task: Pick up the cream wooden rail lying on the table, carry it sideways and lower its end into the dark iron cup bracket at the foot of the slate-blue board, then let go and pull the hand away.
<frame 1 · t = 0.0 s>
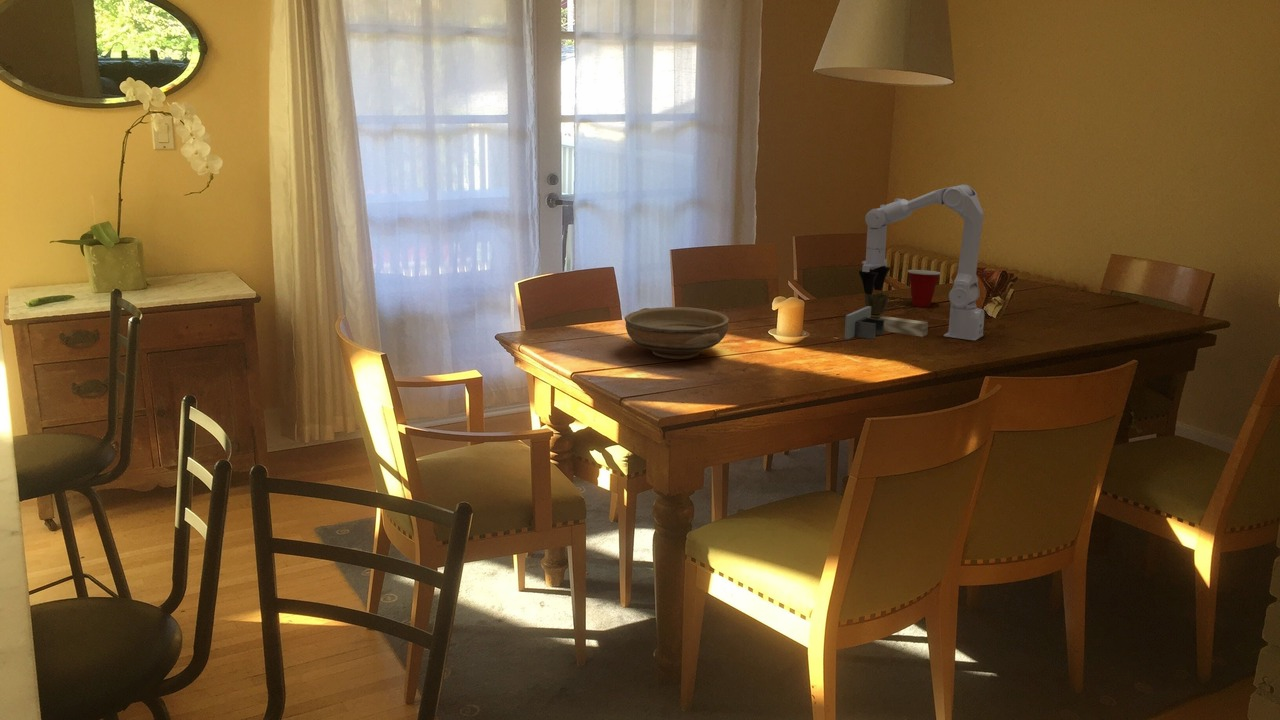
hand: (873, 291, 312), 10 cm above the table, tool pointing down, fingers open, 7 cm apart
ceramic bowl: (676, 353, 280), on the table
cup bracket: (870, 335, 299), on the table
rail: (902, 333, 304), on the table
backboard: (857, 333, 302), on the table
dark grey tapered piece: (875, 319, 322), on the table
plastic cup: (921, 306, 342), on the table
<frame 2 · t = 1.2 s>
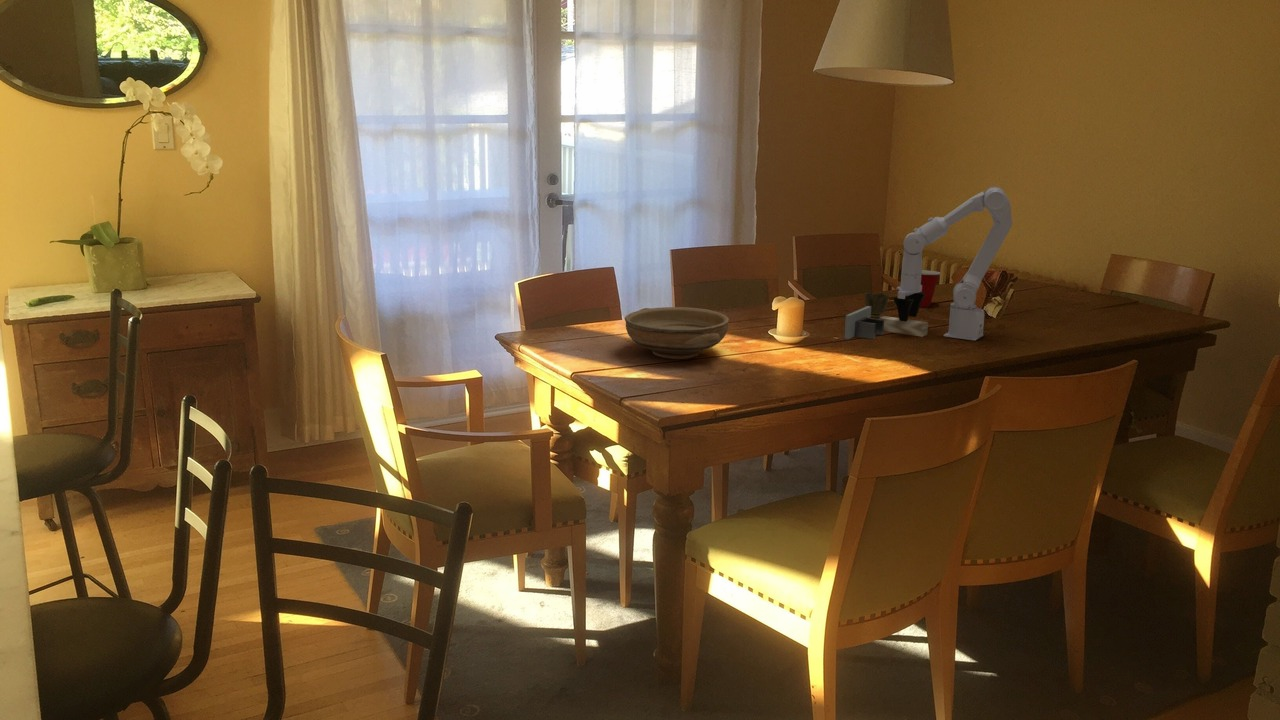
hand: (907, 318, 302), 4 cm above the table, tool pointing down, fingers open, 7 cm apart
nothing on the table moved.
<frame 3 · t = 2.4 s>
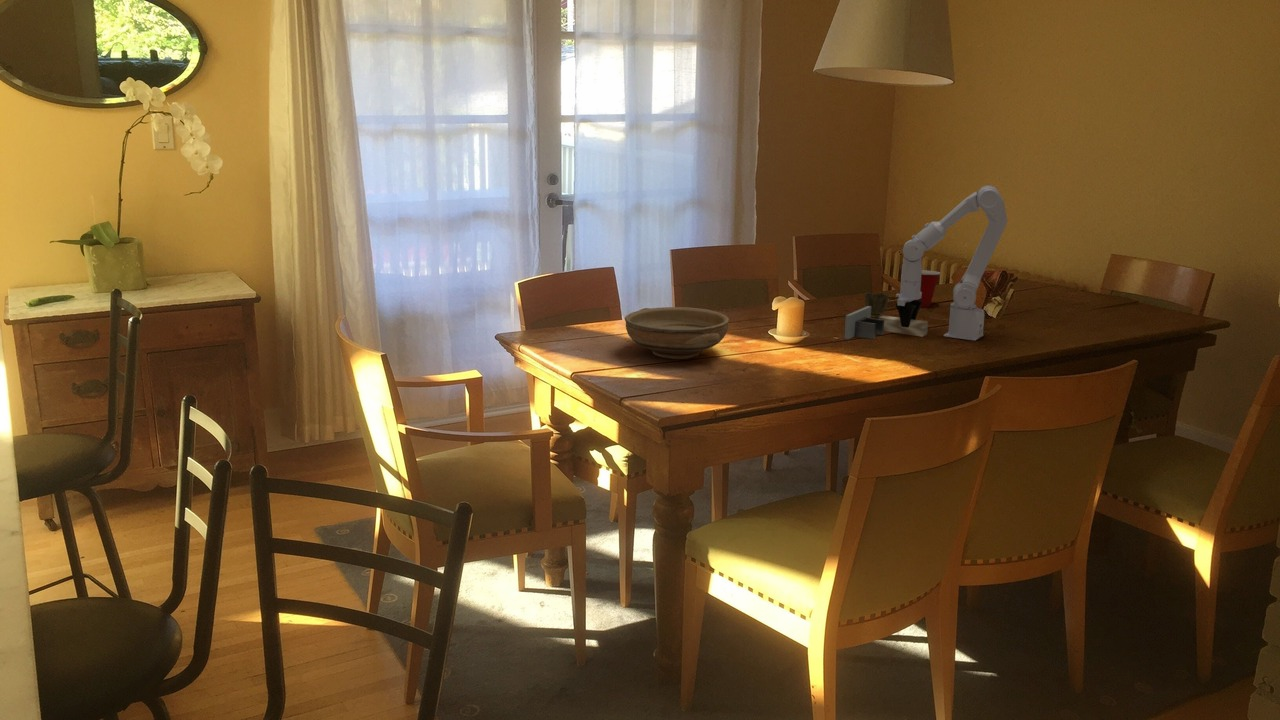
hand: (907, 325, 303), 2 cm above the table, tool pointing down, fingers closed on rail, 4 cm apart
rail: (902, 332, 304), on the table, touching gripper
everything else where it was.
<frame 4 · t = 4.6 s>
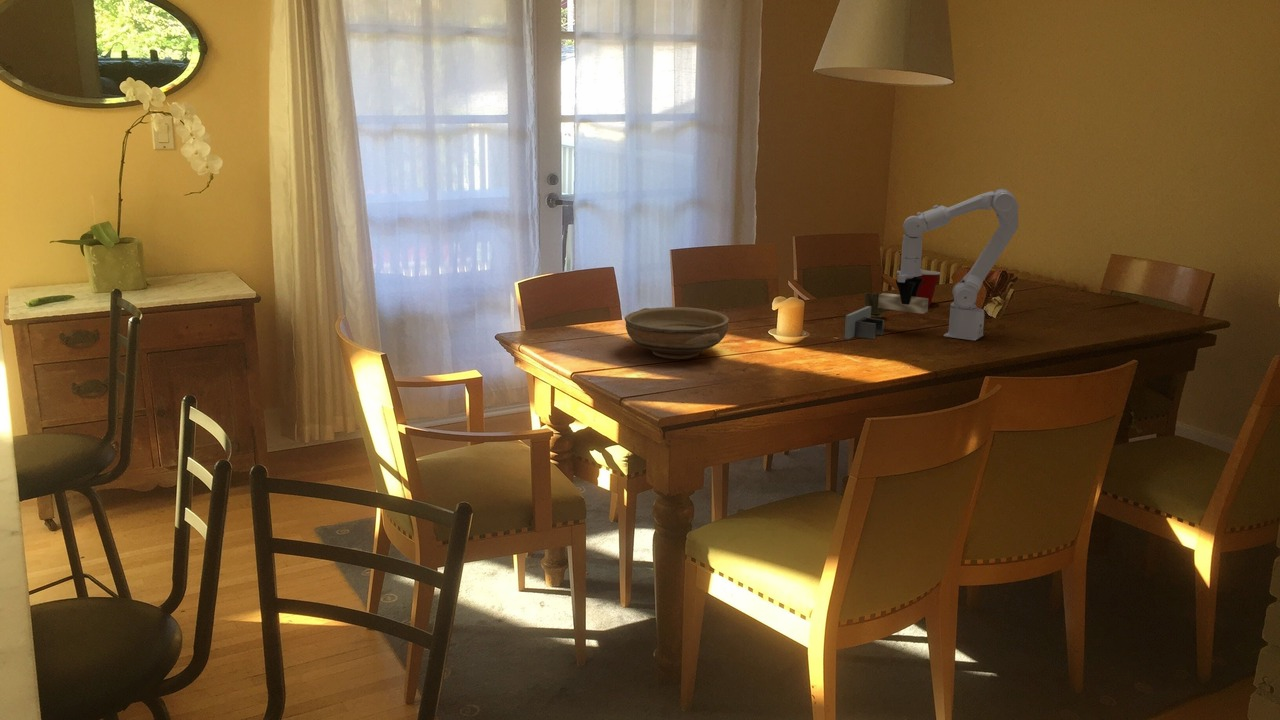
hand: (908, 302, 300), 9 cm above the table, tool pointing down, fingers closed on rail, 4 cm apart
rail: (902, 309, 302), point 7 cm above the table, touching gripper
everything else where it was.
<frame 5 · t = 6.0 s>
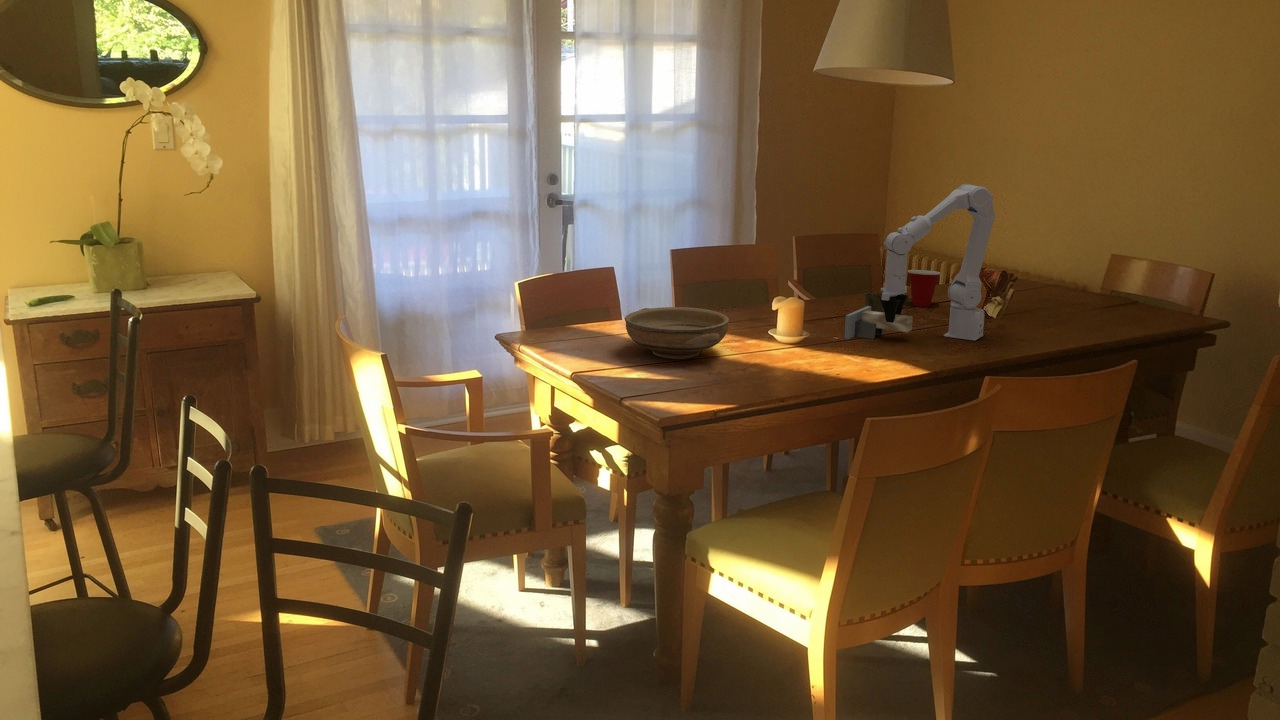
hand: (892, 320, 294), 5 cm above the table, tool pointing down, fingers closed on rail, 4 cm apart
rail: (886, 327, 296), point 3 cm above the table, touching gripper
everything else where it was.
when the fingers open (3 cm above the table, at t = 7.1 s): rail drops 1 cm, on the table.
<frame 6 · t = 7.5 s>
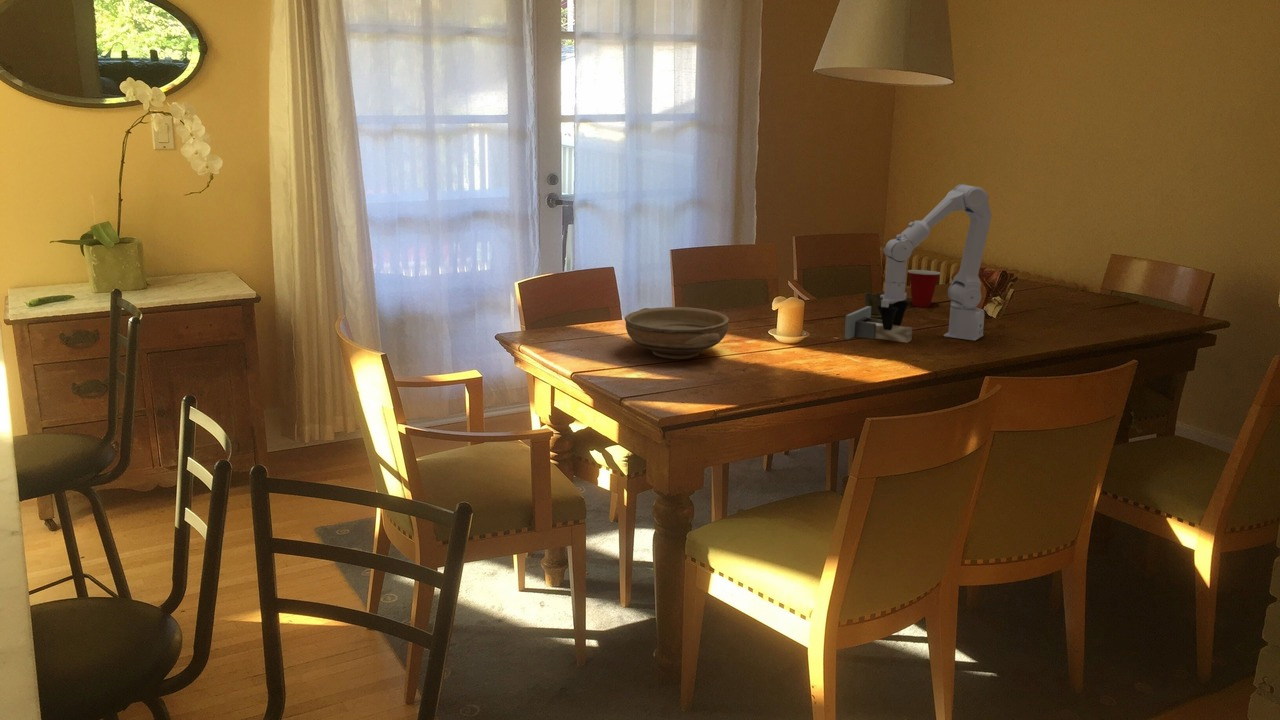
hand: (892, 327, 295), 3 cm above the table, tool pointing down, fingers open, 7 cm apart
rail: (886, 339, 297), on the table
everything else where it was.
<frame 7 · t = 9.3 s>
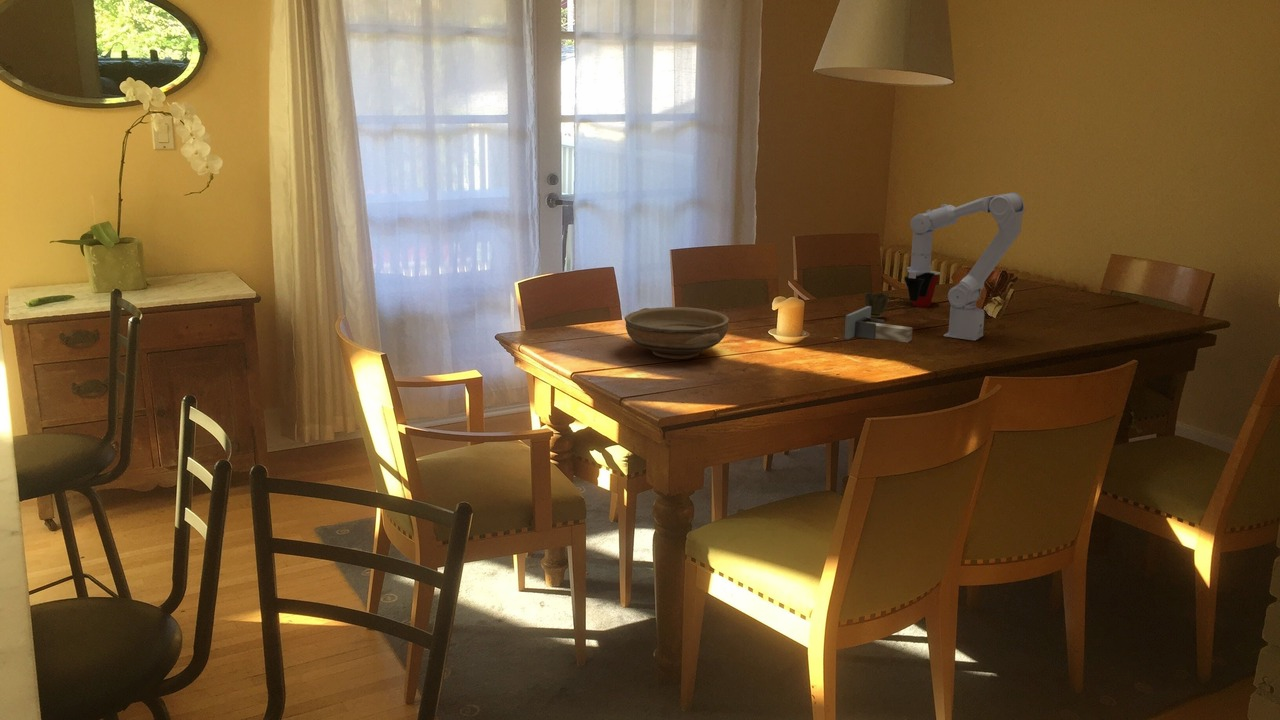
hand: (918, 298, 306), 9 cm above the table, tool pointing down, fingers open, 7 cm apart
nothing on the table moved.
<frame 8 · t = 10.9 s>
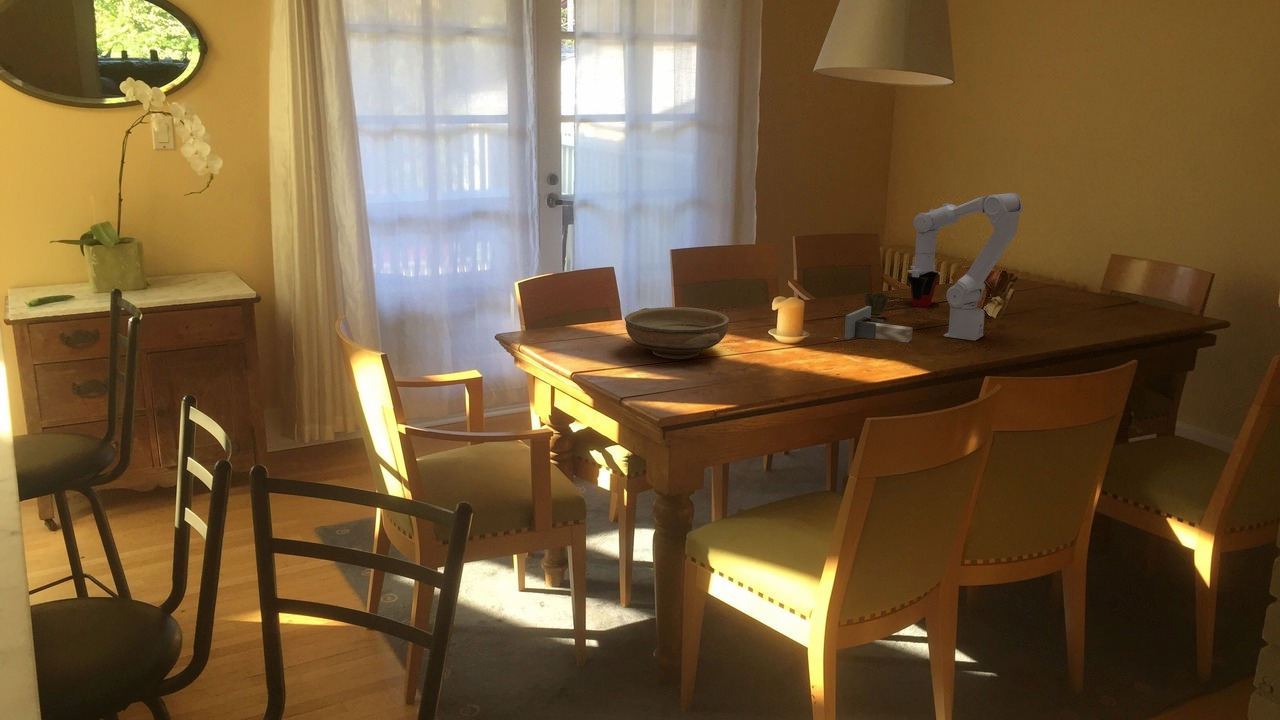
hand: (921, 297, 308), 9 cm above the table, tool pointing down, fingers open, 7 cm apart
nothing on the table moved.
at the end: rail 0.9 cm from the target spot on the table beside the cup bracket, on the table; rail tilted 0°; the gripper is holding nothing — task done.
